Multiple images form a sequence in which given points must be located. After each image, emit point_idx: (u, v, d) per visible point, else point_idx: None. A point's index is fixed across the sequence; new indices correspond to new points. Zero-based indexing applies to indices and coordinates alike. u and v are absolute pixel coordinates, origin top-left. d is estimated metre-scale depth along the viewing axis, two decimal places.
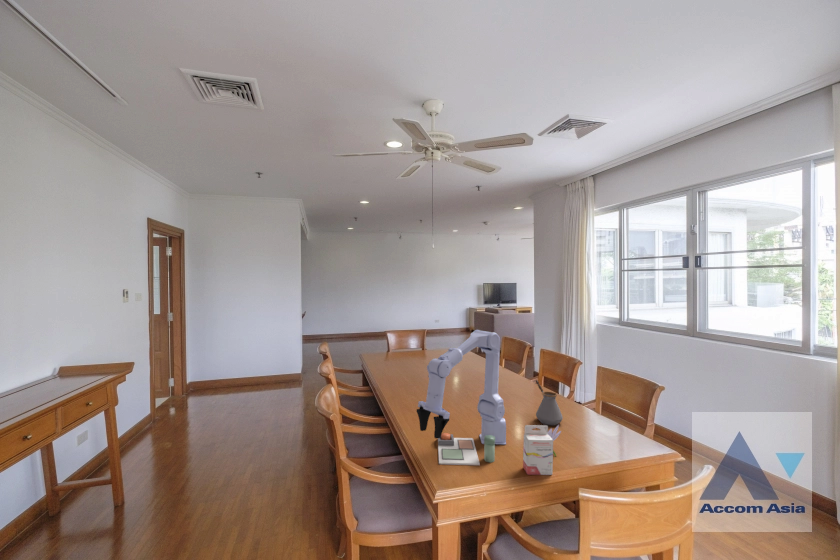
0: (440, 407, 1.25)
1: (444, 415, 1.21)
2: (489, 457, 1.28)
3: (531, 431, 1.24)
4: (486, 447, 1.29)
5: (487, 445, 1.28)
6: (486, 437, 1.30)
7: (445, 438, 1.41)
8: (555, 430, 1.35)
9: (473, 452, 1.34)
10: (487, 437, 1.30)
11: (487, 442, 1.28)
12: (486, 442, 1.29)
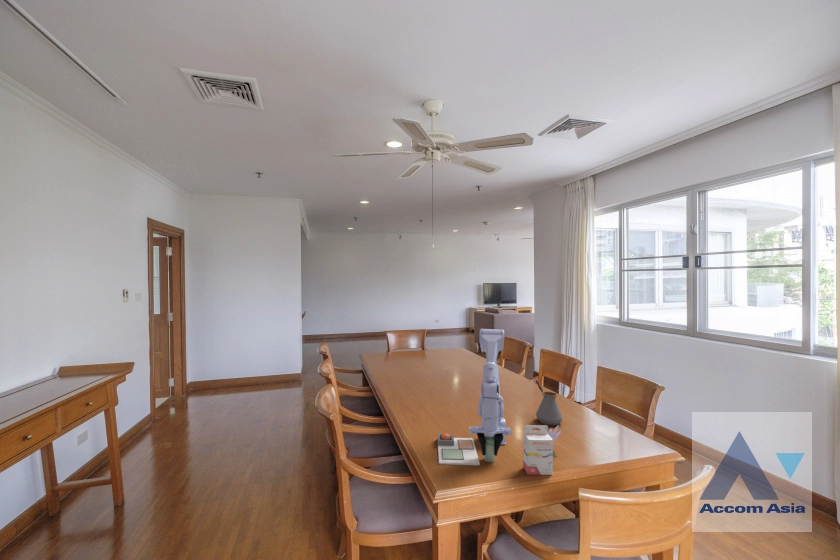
0: None
1: (509, 432, 1.29)
2: (489, 457, 1.28)
3: (531, 431, 1.24)
4: (486, 447, 1.29)
5: (488, 445, 1.28)
6: (486, 437, 1.30)
7: (445, 438, 1.41)
8: (555, 430, 1.35)
9: (473, 452, 1.34)
10: (487, 437, 1.30)
11: (487, 442, 1.28)
12: (486, 442, 1.29)
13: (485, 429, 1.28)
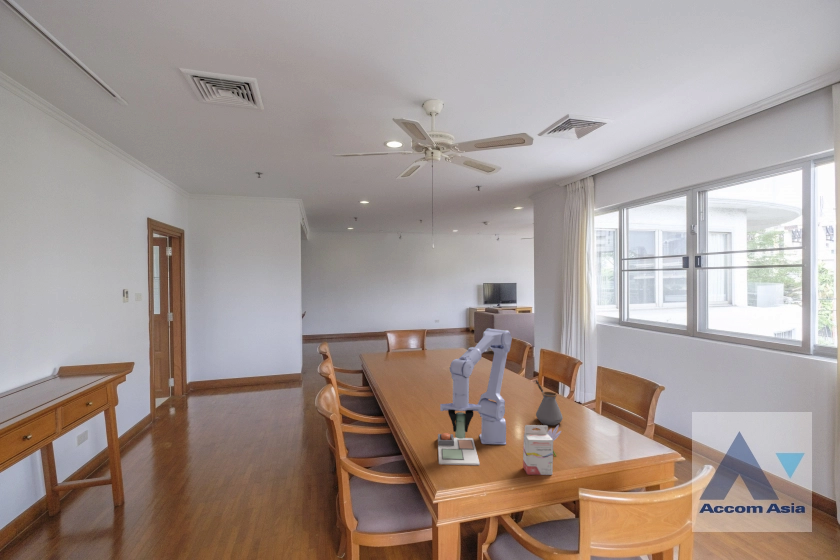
0: None
1: (479, 409, 1.31)
2: (460, 433, 1.30)
3: (531, 431, 1.25)
4: (457, 424, 1.30)
5: (458, 422, 1.30)
6: (457, 414, 1.31)
7: (445, 438, 1.41)
8: (555, 430, 1.35)
9: (473, 452, 1.34)
10: (457, 414, 1.31)
11: (458, 419, 1.30)
12: (457, 419, 1.30)
13: (455, 405, 1.29)
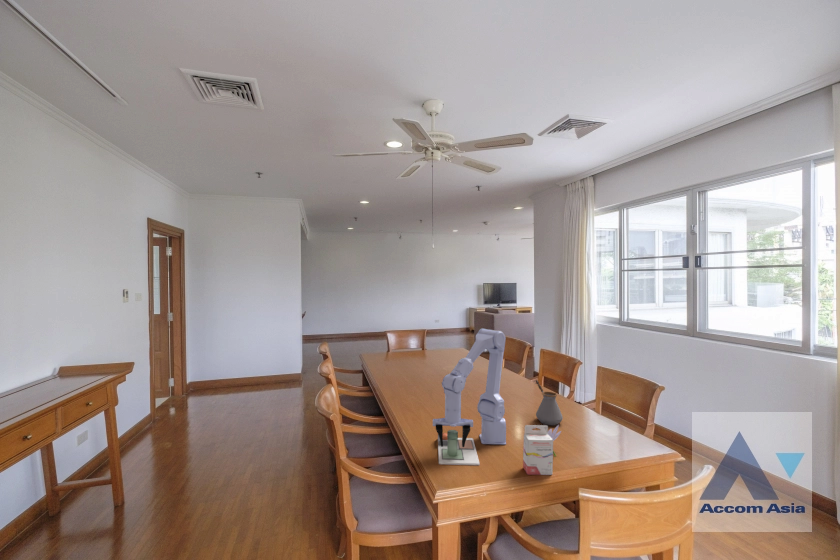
0: None
1: (472, 424, 1.31)
2: (452, 451, 1.30)
3: (531, 431, 1.24)
4: (449, 441, 1.31)
5: (450, 440, 1.31)
6: (449, 432, 1.32)
7: (445, 438, 1.41)
8: (555, 430, 1.35)
9: (473, 452, 1.34)
10: (450, 432, 1.32)
11: (450, 436, 1.31)
12: (449, 436, 1.31)
13: (448, 421, 1.30)
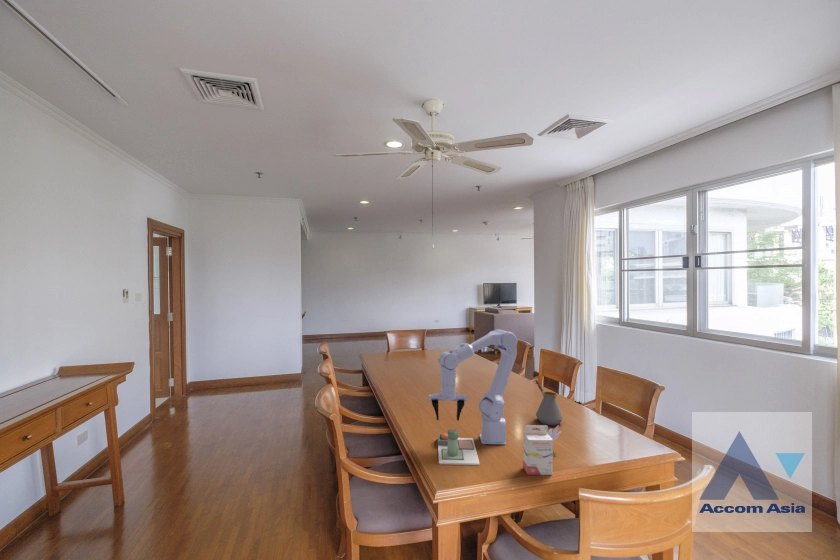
0: None
1: (466, 398, 1.39)
2: (452, 451, 1.30)
3: (531, 431, 1.24)
4: (449, 441, 1.31)
5: (450, 439, 1.31)
6: (449, 431, 1.32)
7: (445, 438, 1.41)
8: (555, 430, 1.35)
9: (473, 452, 1.34)
10: (450, 432, 1.32)
11: (450, 436, 1.31)
12: (449, 436, 1.31)
13: (443, 396, 1.38)
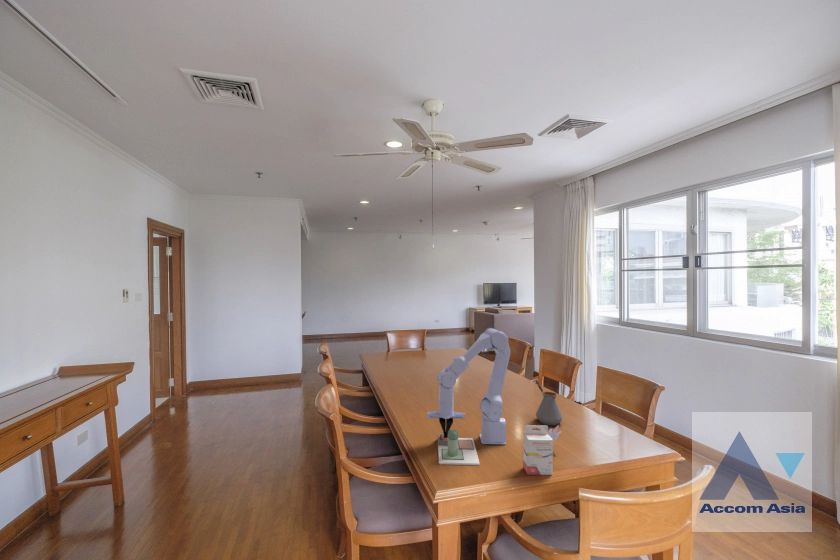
0: None
1: (463, 416, 1.41)
2: (452, 451, 1.30)
3: (531, 431, 1.24)
4: (449, 441, 1.31)
5: (451, 440, 1.30)
6: (450, 432, 1.32)
7: None
8: (555, 430, 1.35)
9: (473, 452, 1.34)
10: (450, 432, 1.32)
11: (450, 436, 1.30)
12: (449, 436, 1.31)
13: (441, 414, 1.40)
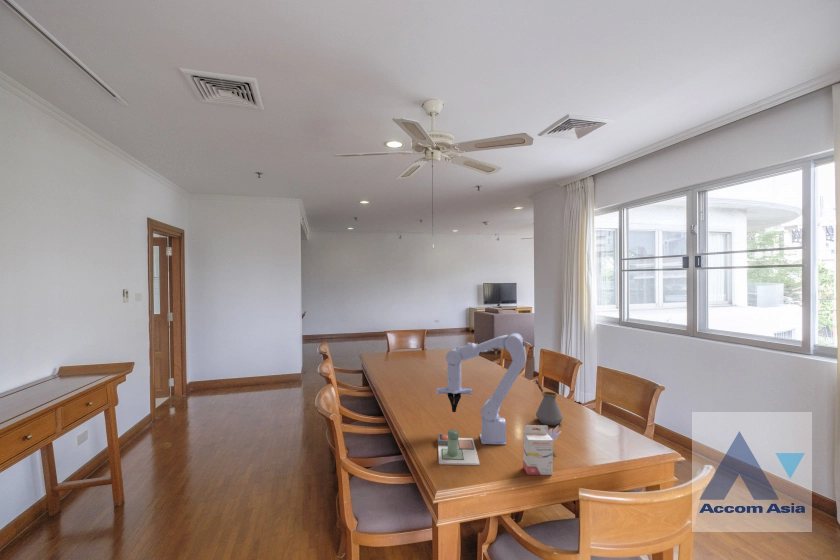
0: None
1: (470, 392, 1.50)
2: (452, 451, 1.30)
3: (531, 431, 1.24)
4: (449, 441, 1.31)
5: (451, 440, 1.30)
6: (450, 432, 1.32)
7: None
8: (555, 430, 1.35)
9: (473, 452, 1.34)
10: (450, 432, 1.32)
11: (451, 436, 1.30)
12: (450, 436, 1.31)
13: (450, 389, 1.49)
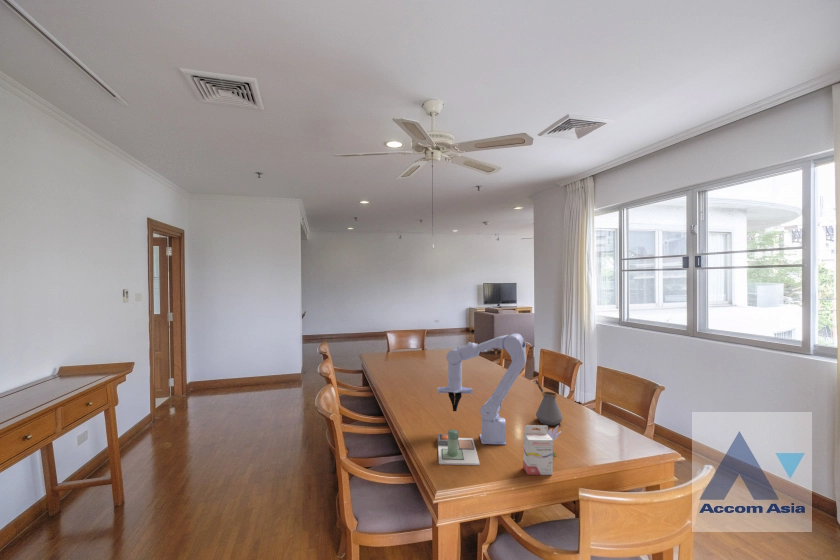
0: None
1: (471, 391, 1.51)
2: (452, 451, 1.30)
3: (531, 431, 1.24)
4: (450, 441, 1.31)
5: (451, 439, 1.31)
6: (450, 431, 1.32)
7: None
8: (555, 430, 1.35)
9: (473, 452, 1.34)
10: (450, 431, 1.32)
11: (451, 436, 1.31)
12: (450, 436, 1.31)
13: (450, 388, 1.50)
